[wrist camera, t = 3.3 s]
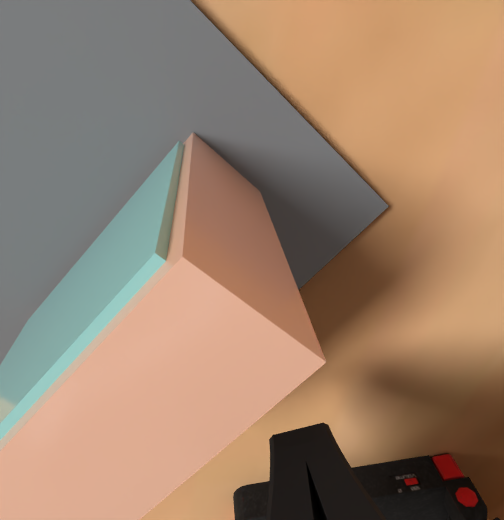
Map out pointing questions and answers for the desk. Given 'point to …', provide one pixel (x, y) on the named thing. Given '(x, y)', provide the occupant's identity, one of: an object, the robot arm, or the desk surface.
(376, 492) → the handheld gaming console
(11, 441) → the block
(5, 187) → the mat
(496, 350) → the desk surface
